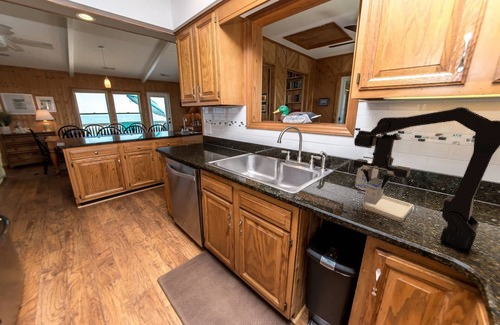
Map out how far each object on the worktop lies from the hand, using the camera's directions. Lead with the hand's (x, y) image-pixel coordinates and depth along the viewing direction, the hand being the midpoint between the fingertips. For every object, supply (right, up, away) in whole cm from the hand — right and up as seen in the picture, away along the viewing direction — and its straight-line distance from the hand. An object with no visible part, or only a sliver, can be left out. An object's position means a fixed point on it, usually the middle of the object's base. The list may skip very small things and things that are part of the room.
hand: (375, 187), depth 79 cm
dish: (+9, -10, +6) cm, 15 cm away
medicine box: (0, -6, +2) cm, 6 cm away
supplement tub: (+12, -4, +28) cm, 31 cm away
